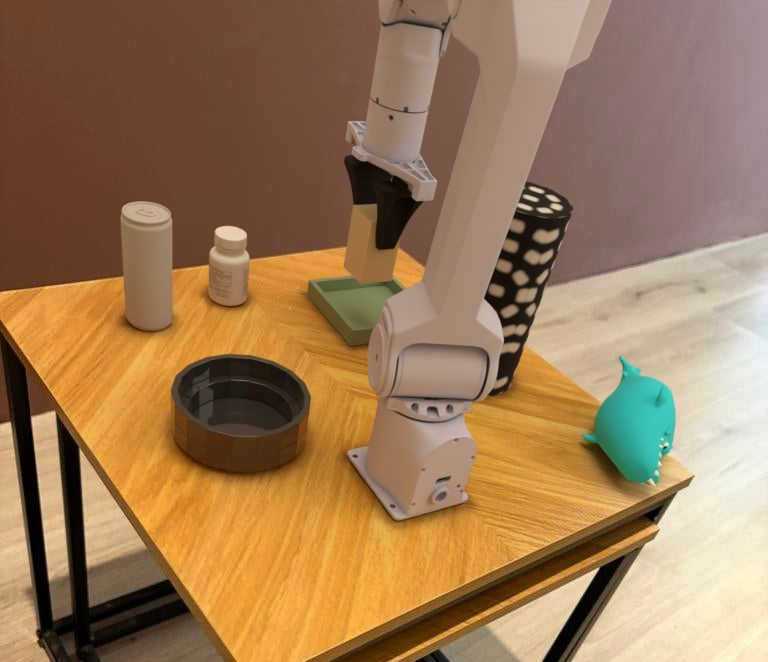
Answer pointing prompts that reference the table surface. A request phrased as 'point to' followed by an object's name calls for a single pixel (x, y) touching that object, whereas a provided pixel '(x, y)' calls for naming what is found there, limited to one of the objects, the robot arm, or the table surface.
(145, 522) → the table surface
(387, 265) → the block
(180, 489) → the table surface
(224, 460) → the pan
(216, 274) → the pill bottle
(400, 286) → the tray
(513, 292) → the white-spotted black cylinder
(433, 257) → the robot arm
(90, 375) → the table surface
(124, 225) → the beverage can
